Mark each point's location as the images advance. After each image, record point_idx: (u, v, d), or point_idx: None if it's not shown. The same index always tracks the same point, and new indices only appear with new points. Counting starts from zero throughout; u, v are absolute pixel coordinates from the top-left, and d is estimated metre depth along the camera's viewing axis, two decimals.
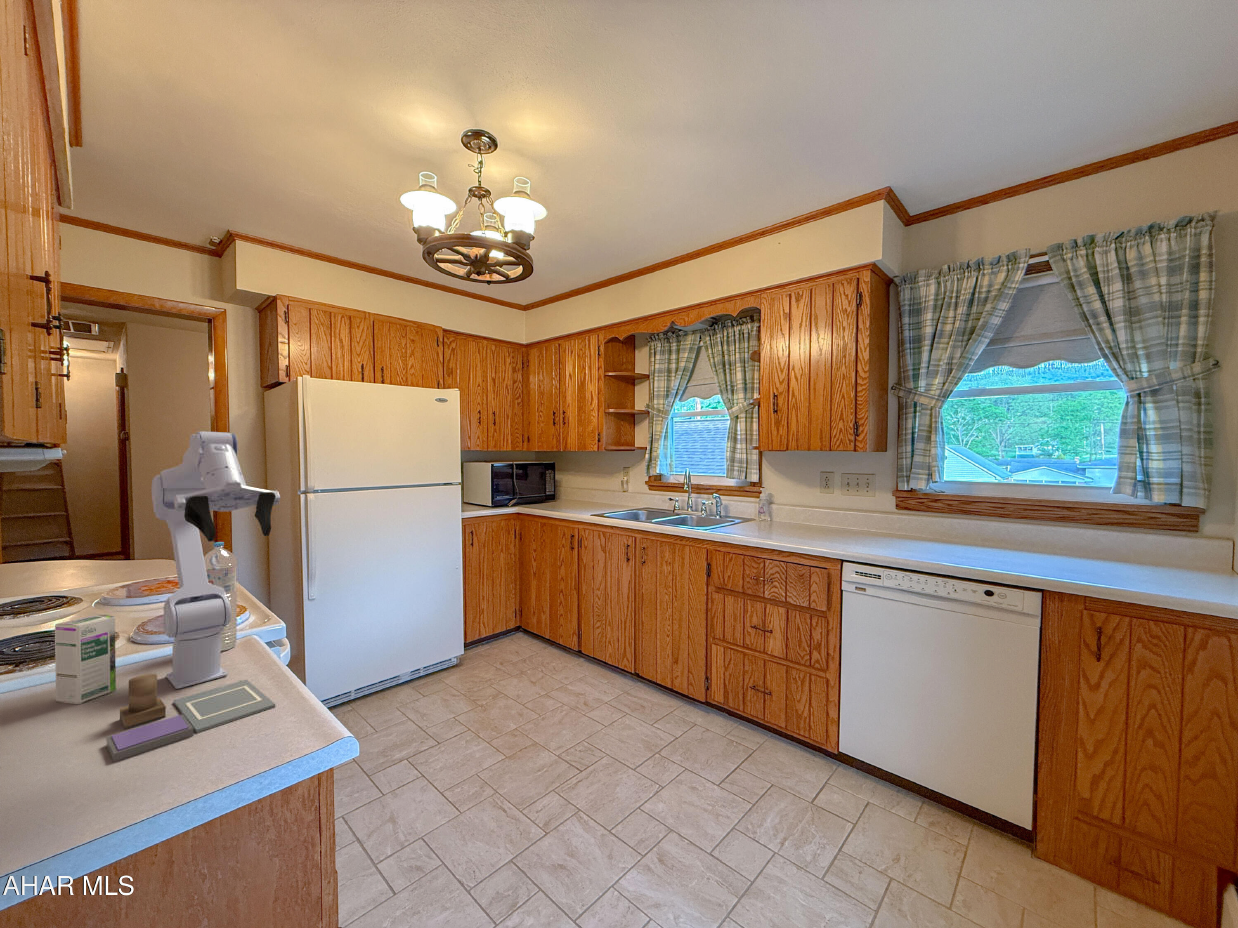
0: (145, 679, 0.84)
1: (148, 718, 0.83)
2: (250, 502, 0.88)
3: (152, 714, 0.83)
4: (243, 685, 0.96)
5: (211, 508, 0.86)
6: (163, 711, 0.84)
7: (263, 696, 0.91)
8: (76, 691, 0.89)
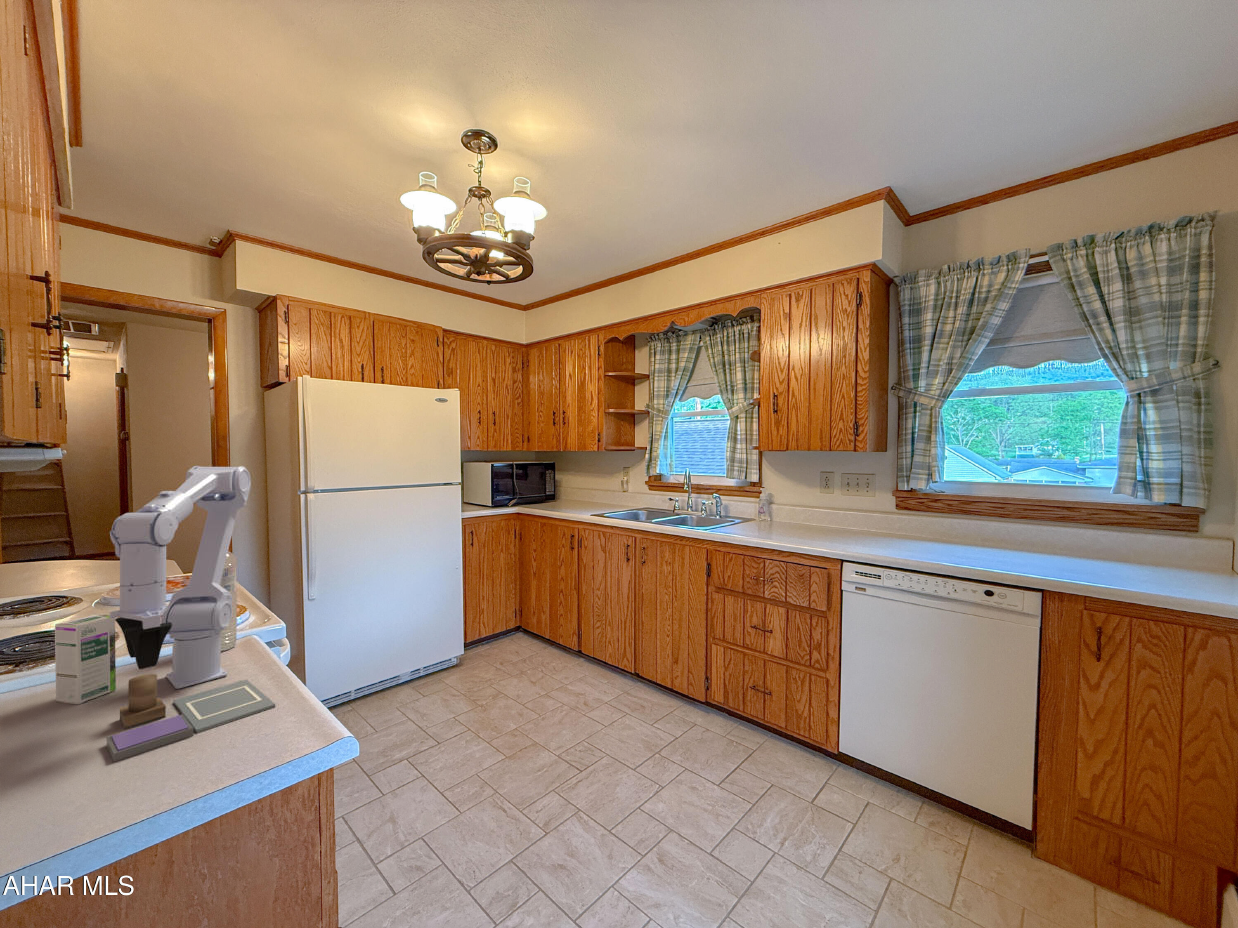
0: (145, 679, 0.84)
1: (148, 718, 0.83)
2: None
3: (152, 714, 0.83)
4: (243, 685, 0.96)
5: None
6: (163, 711, 0.84)
7: (263, 696, 0.91)
8: (76, 691, 0.89)
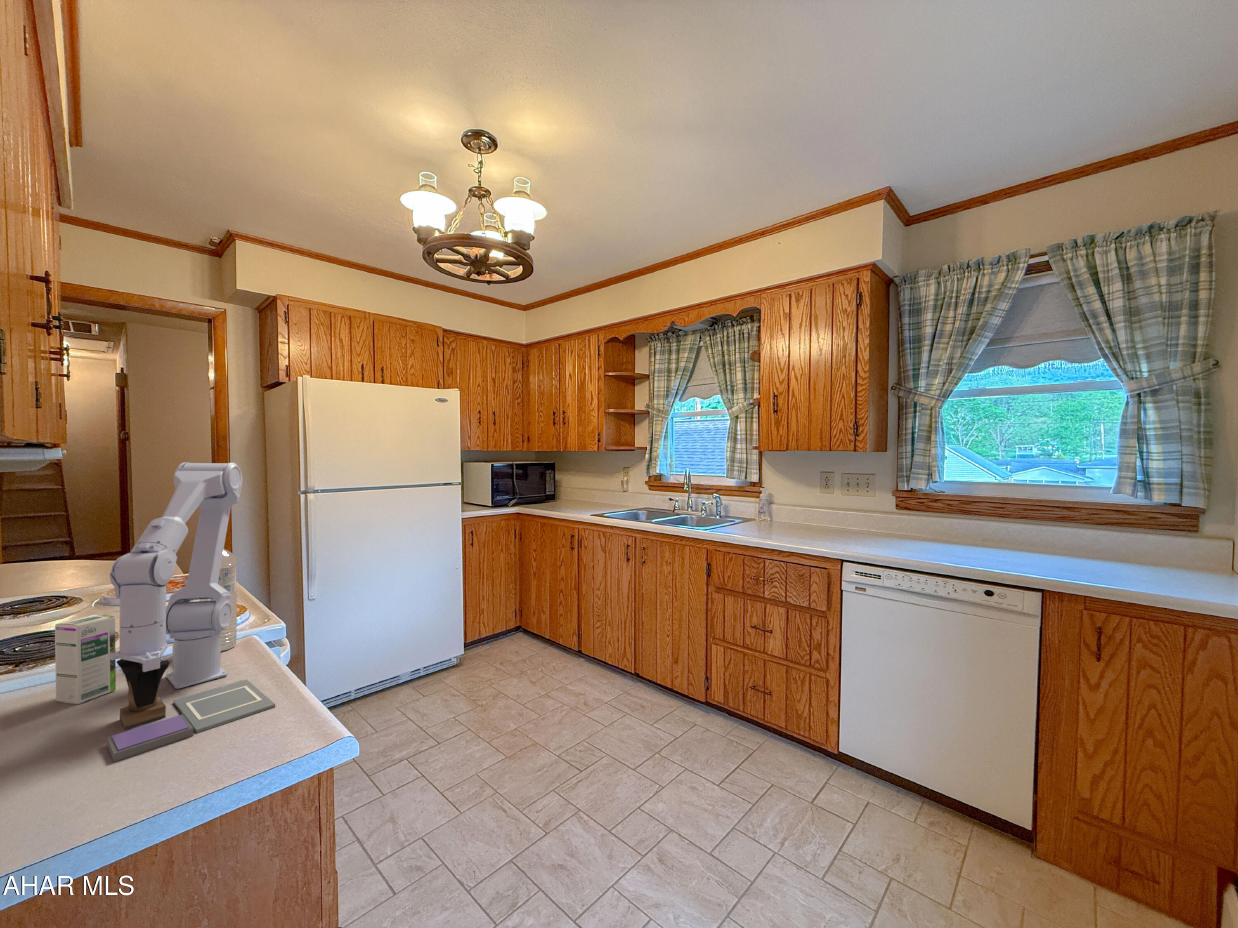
0: None
1: (148, 717, 0.83)
2: None
3: (152, 714, 0.83)
4: (243, 685, 0.96)
5: None
6: (163, 711, 0.84)
7: (263, 696, 0.91)
8: (76, 691, 0.89)
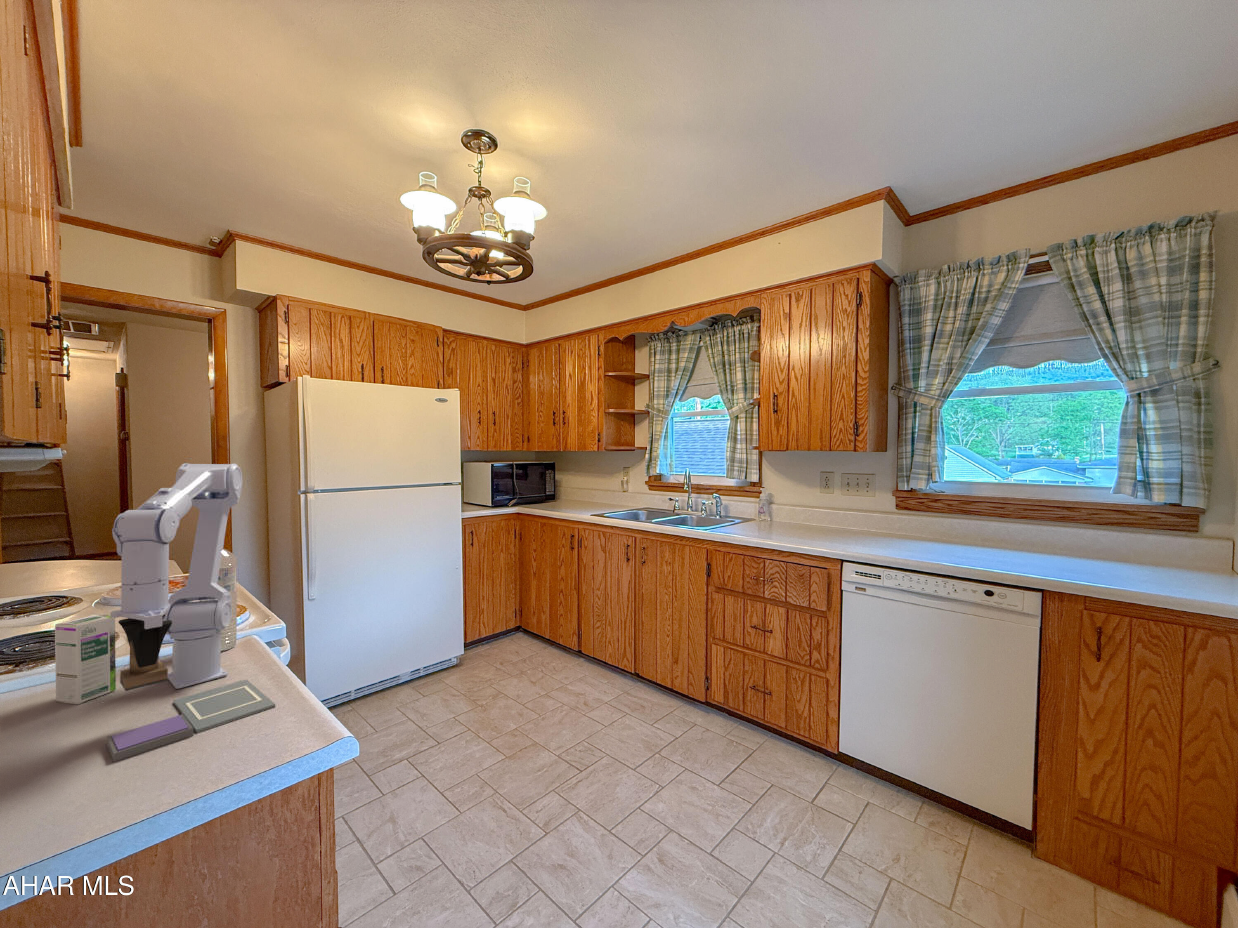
0: None
1: (149, 680, 0.81)
2: None
3: (154, 676, 0.81)
4: (243, 685, 0.96)
5: None
6: (165, 674, 0.82)
7: (263, 696, 0.91)
8: (76, 691, 0.89)
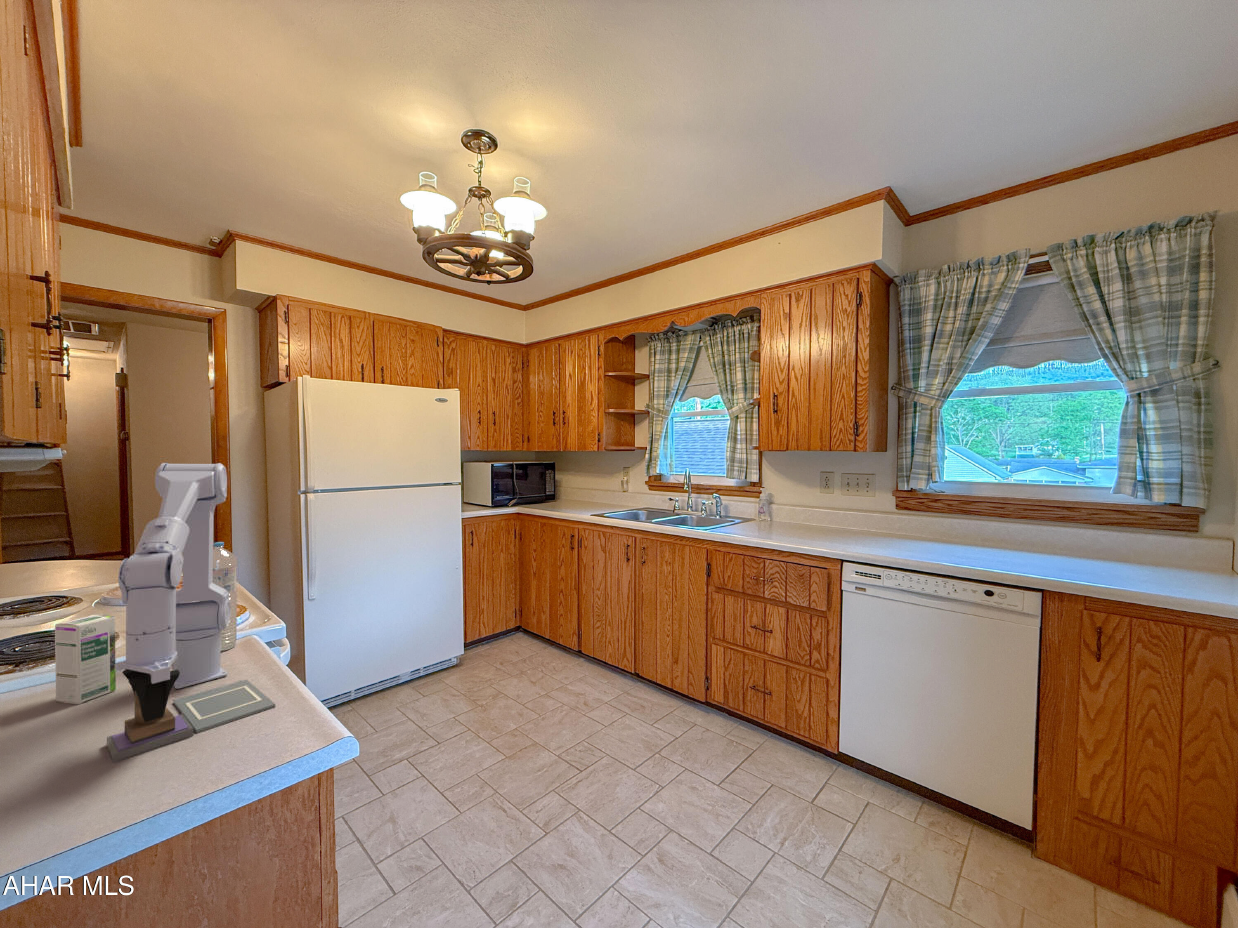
0: None
1: (156, 731, 0.76)
2: None
3: (161, 726, 0.77)
4: (243, 685, 0.96)
5: None
6: (172, 723, 0.78)
7: (263, 696, 0.91)
8: (76, 691, 0.89)
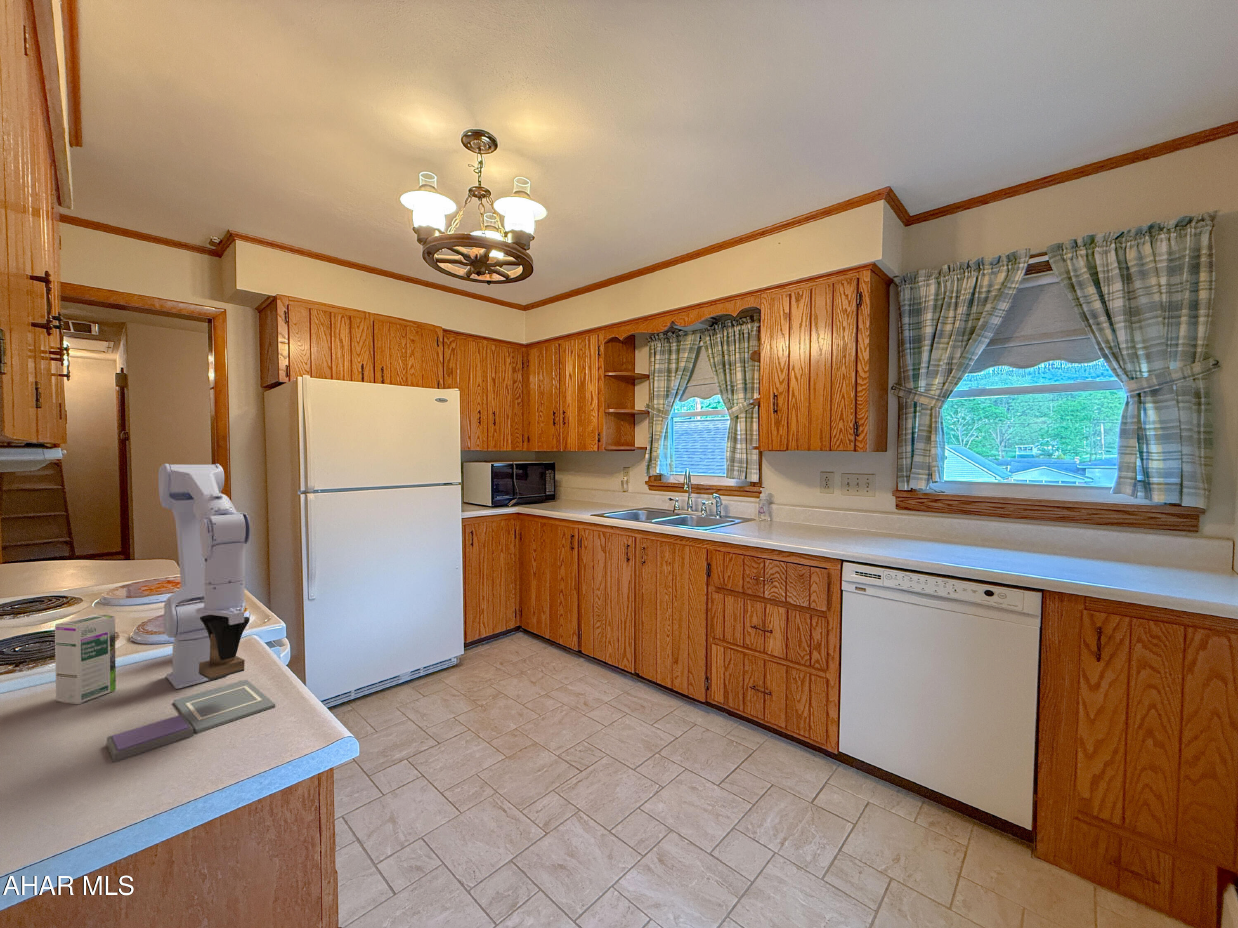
0: None
1: (230, 670, 0.88)
2: (228, 618, 0.87)
3: (233, 667, 0.88)
4: (243, 685, 0.96)
5: None
6: (242, 664, 0.89)
7: (263, 696, 0.91)
8: (76, 691, 0.89)
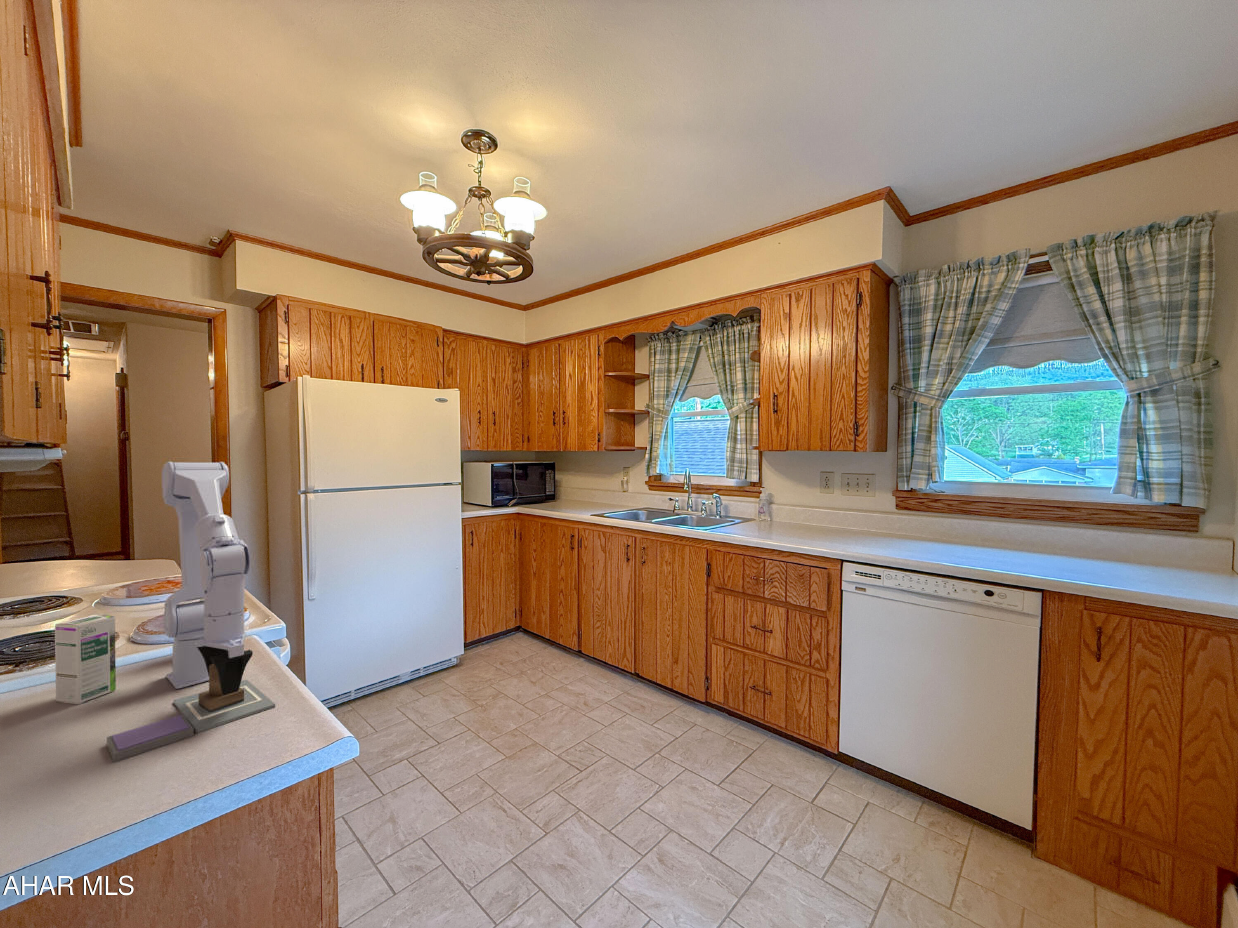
0: None
1: (229, 701, 0.88)
2: (228, 650, 0.87)
3: (233, 697, 0.88)
4: (243, 685, 0.96)
5: None
6: (242, 695, 0.89)
7: (263, 696, 0.91)
8: (76, 691, 0.89)
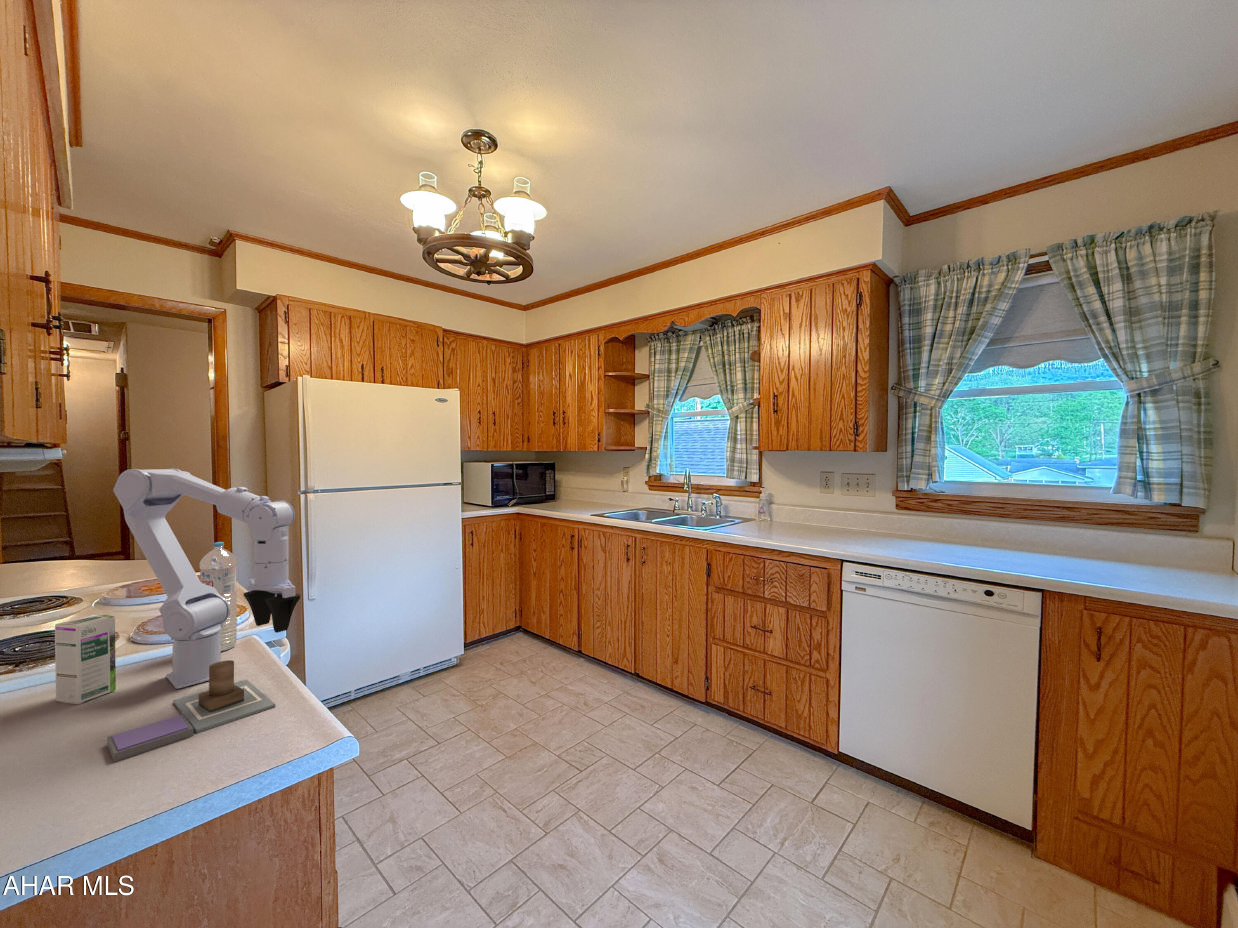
0: (225, 665, 0.88)
1: (229, 701, 0.88)
2: (278, 593, 0.98)
3: (233, 697, 0.88)
4: (243, 685, 0.96)
5: None
6: (242, 695, 0.89)
7: (263, 696, 0.91)
8: (76, 691, 0.89)
